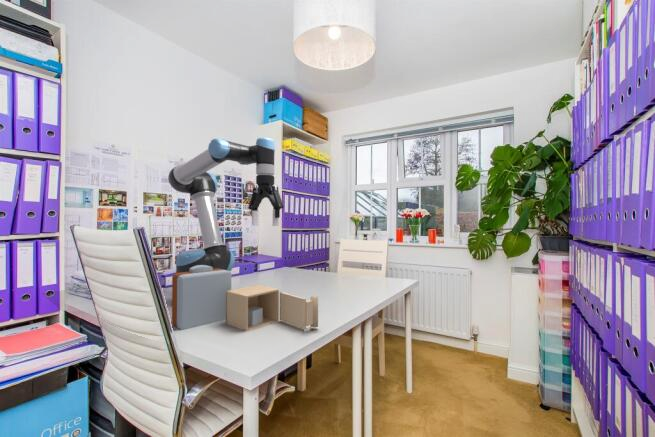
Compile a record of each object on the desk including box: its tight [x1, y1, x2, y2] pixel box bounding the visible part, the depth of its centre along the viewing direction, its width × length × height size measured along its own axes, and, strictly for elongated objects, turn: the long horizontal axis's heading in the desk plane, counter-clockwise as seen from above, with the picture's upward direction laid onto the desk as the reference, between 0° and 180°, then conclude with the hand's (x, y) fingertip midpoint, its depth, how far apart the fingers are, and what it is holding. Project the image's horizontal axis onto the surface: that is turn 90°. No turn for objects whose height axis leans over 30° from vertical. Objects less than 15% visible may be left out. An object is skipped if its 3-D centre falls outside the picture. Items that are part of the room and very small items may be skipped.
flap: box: [279, 291, 319, 330], centre depth 110 cm, size 6×15×10 cm, turn 45°
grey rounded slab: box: [171, 265, 232, 331], centre depth 113 cm, size 18×9×21 cm, turn 134°
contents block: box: [248, 306, 263, 326], centre depth 111 cm, size 5×5×5 cm
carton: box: [225, 284, 280, 332], centre depth 112 cm, size 12×14×12 cm
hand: (265, 225), depth 131 cm, fingers open, 13 cm apart
